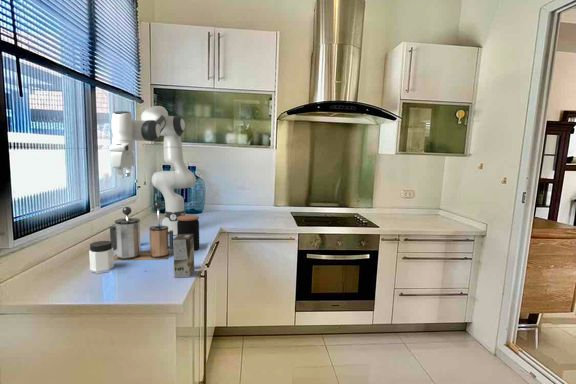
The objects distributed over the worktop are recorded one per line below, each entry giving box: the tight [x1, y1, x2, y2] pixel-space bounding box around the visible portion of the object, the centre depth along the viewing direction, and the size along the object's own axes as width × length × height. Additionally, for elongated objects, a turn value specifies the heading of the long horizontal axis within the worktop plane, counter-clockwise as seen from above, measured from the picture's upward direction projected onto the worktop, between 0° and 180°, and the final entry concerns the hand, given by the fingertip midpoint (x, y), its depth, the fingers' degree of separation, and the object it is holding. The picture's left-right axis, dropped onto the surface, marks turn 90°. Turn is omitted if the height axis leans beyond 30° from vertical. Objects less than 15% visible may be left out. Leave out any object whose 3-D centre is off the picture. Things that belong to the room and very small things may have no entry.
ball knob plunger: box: [154, 201, 163, 228], centre depth 155 cm, size 6×6×17 cm
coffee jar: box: [177, 214, 200, 252], centre depth 168 cm, size 11×11×18 cm
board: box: [114, 249, 174, 262], centre depth 157 cm, size 14×26×1 cm, turn 98°
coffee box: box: [173, 234, 195, 278], centre depth 137 cm, size 9×6×16 cm
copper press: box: [148, 225, 174, 258], centre depth 157 cm, size 8×10×14 cm
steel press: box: [109, 217, 142, 261], centre depth 154 cm, size 10×12×18 cm
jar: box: [88, 240, 115, 275], centre depth 139 cm, size 9×8×12 cm
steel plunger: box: [122, 206, 132, 221], centre depth 154 cm, size 7×7×22 cm
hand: (124, 177), depth 151 cm, fingers open, 8 cm apart
